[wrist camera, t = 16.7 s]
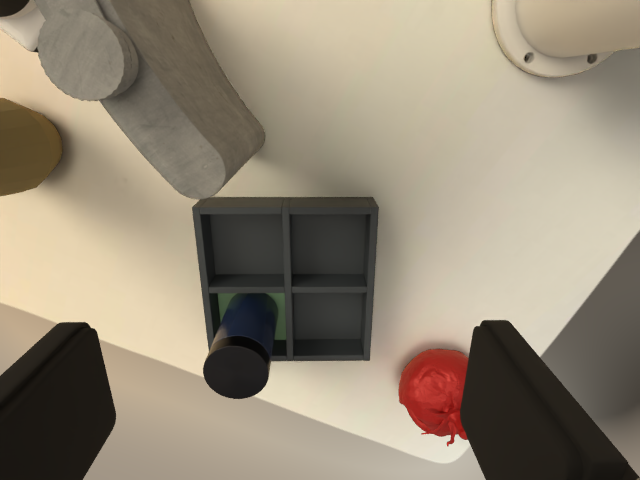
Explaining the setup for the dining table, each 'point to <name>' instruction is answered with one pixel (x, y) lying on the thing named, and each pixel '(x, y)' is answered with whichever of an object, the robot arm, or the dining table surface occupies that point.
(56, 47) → the hip flask
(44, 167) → the squeeze bottle
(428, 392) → the red hollow tomato
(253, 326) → the thermos
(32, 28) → the medicine bottle
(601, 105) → the dining table surface
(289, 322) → the tray
